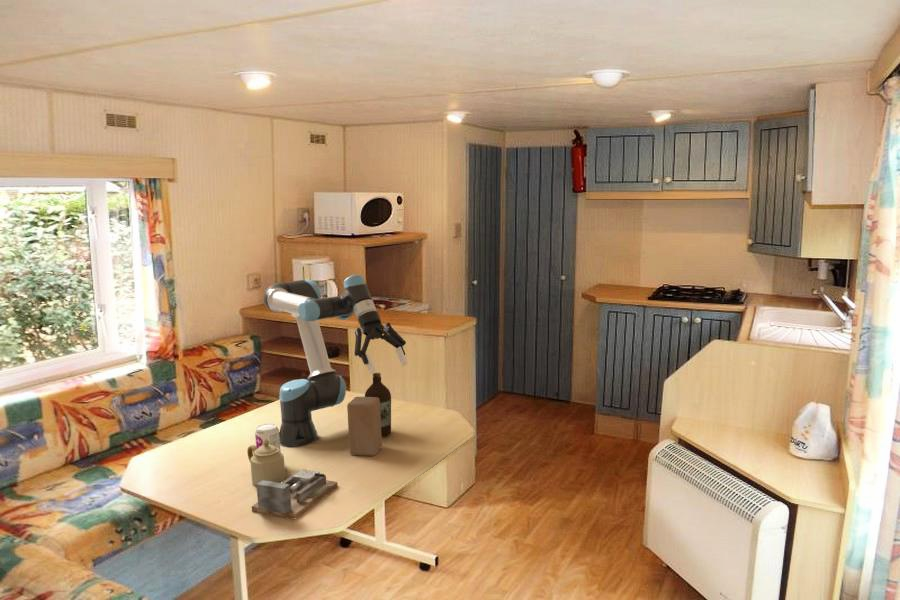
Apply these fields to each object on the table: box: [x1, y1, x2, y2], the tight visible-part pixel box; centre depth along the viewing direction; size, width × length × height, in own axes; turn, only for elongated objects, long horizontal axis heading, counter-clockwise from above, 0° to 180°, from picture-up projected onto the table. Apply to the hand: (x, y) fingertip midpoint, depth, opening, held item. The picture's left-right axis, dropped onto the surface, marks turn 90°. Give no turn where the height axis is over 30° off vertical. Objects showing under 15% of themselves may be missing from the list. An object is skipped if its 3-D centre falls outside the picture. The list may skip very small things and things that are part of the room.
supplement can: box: [254, 423, 282, 453], centre depth 242 cm, size 8×8×15 cm
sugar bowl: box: [247, 439, 286, 487], centre depth 231 cm, size 15×11×15 cm
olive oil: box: [364, 372, 392, 438], centre depth 271 cm, size 11×11×25 cm
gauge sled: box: [290, 468, 326, 493], centre depth 219 cm, size 10×11×5 cm
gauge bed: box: [251, 470, 339, 520], centre depth 217 cm, size 16×24×10 cm, turn 158°
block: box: [346, 396, 383, 457], centre depth 254 cm, size 10×10×20 cm
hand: (388, 368), depth 235 cm, fingers open, 13 cm apart
